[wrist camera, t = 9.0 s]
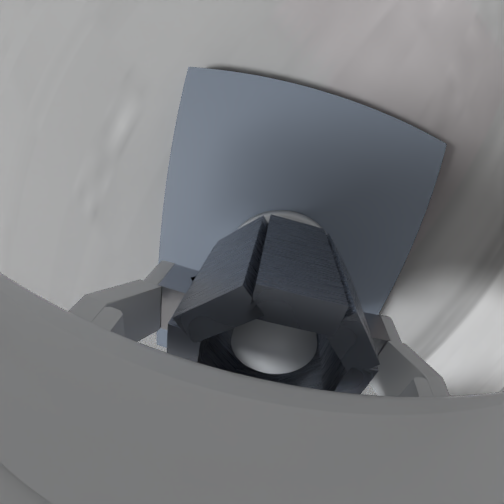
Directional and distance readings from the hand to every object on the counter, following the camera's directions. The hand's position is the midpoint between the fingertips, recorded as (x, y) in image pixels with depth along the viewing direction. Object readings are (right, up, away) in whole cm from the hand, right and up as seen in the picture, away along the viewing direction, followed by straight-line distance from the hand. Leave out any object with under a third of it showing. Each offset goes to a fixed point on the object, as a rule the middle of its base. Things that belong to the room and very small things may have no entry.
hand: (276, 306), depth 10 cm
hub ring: (0, +1, +2) cm, 2 cm away
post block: (+1, +2, +4) cm, 4 cm away
